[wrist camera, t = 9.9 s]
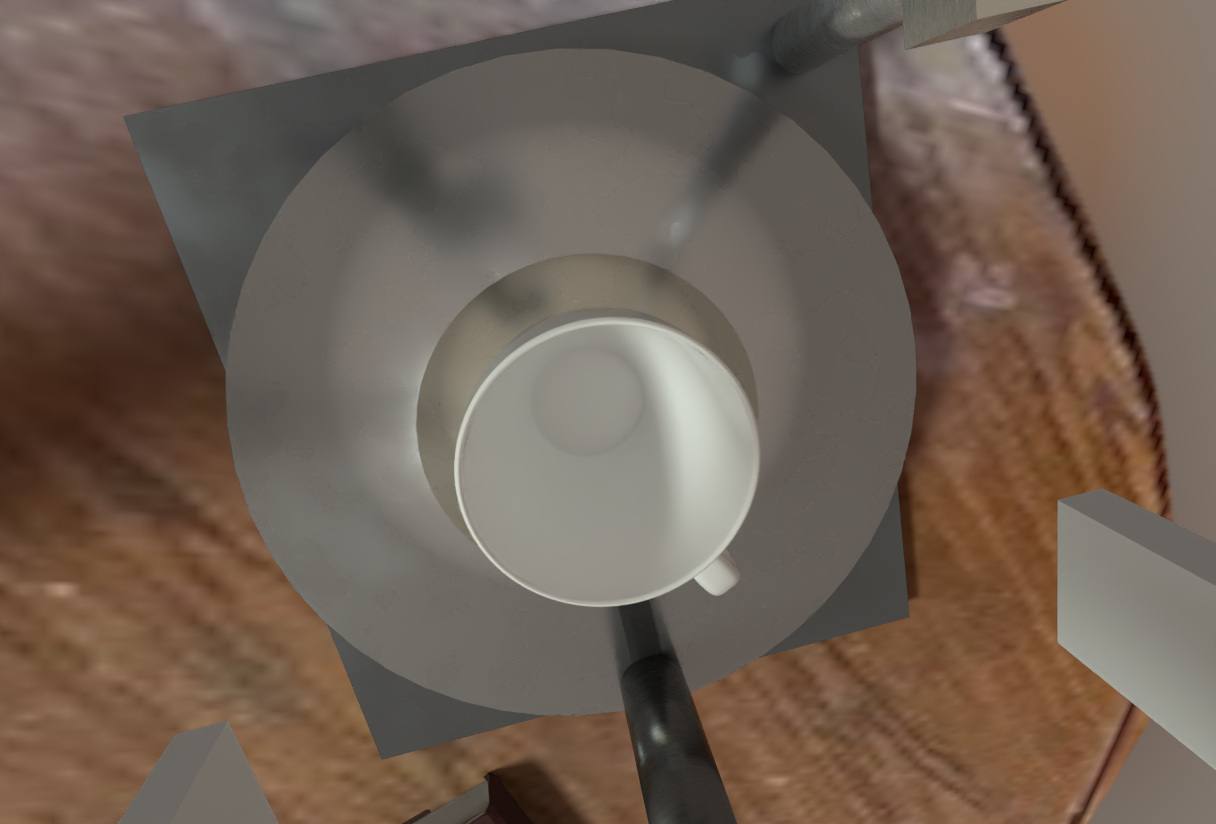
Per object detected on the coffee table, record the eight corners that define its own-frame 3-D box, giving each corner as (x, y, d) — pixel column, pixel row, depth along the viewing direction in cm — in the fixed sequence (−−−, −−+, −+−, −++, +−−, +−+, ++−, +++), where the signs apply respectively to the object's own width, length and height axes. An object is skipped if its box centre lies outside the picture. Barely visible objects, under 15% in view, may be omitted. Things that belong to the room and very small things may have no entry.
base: (140, 120, 22) (-245, 24, 11) (836, -27, 23) (1120, -244, 12) (386, 742, 30) (307, 1052, 19) (897, 604, 31) (1105, 818, 20)
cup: (599, 237, 22) (633, 247, 15) (774, 452, 25) (864, 536, 18) (423, 392, 22) (384, 464, 16) (614, 583, 25) (646, 709, 19)
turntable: (133, 149, 21) (-157, 100, 12) (856, -6, 23) (1081, -154, 13) (375, 750, 28) (308, 1000, 19) (910, 606, 30) (1080, 776, 21)
